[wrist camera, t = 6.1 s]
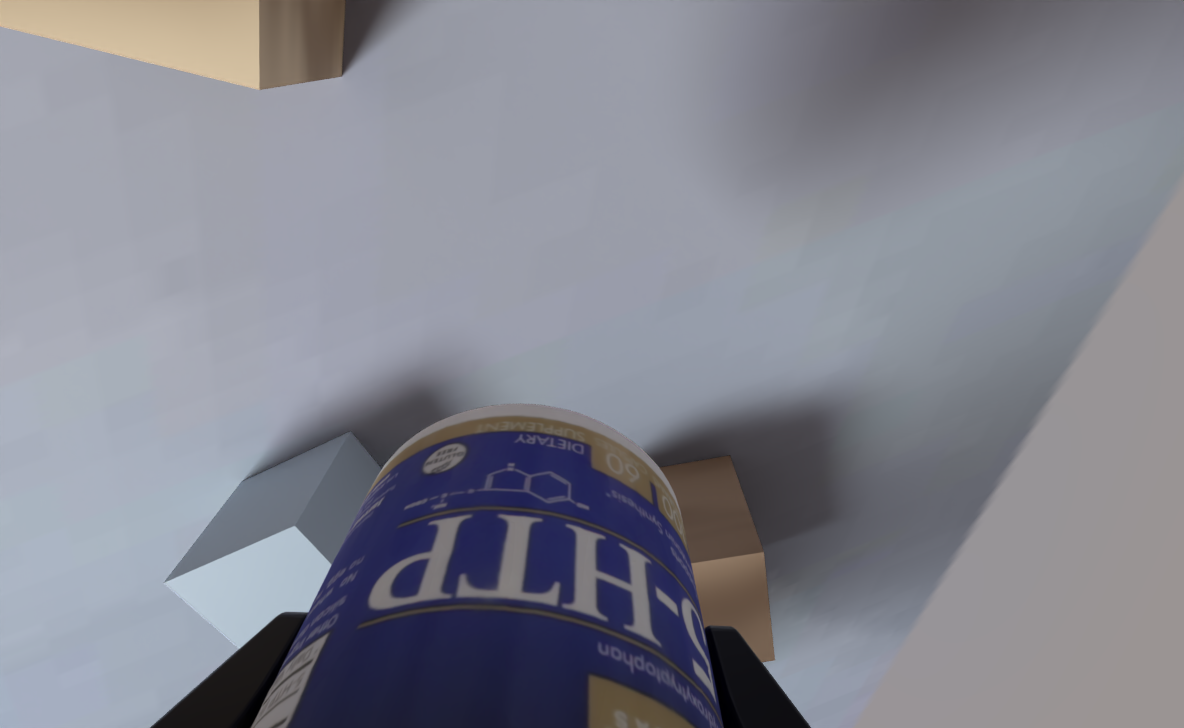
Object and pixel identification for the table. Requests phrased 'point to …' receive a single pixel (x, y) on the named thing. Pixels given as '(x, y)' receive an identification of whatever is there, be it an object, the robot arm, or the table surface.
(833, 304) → the table surface
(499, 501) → the pill bottle
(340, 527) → the slate block
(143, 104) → the table surface
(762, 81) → the table surface
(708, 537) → the walnut block
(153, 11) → the oak block
